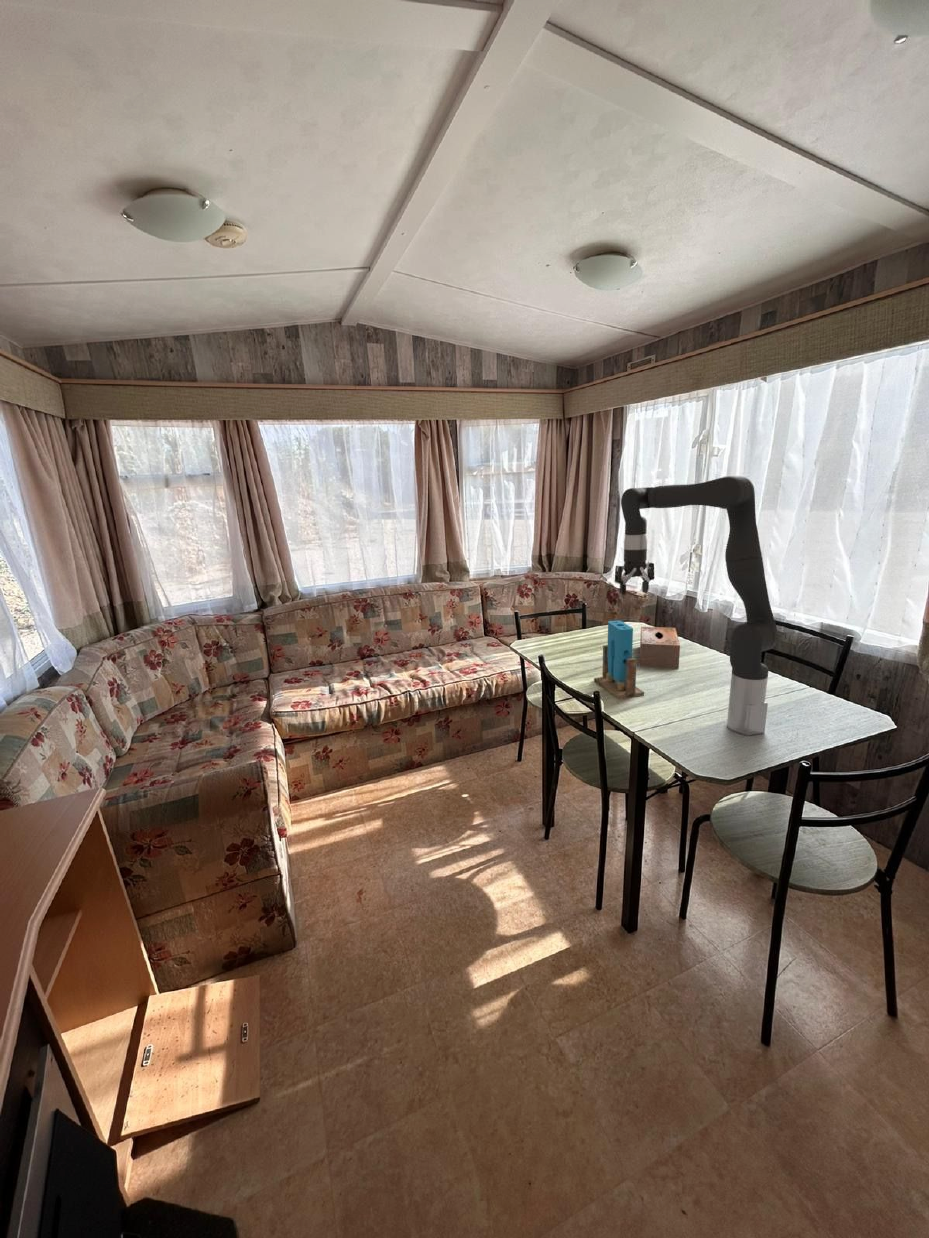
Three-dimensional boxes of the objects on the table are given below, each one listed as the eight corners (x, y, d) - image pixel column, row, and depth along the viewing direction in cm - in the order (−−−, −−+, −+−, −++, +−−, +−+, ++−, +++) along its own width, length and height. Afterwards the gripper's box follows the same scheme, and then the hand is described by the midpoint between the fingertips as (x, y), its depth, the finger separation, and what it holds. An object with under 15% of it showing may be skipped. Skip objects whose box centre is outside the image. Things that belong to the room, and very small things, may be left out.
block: (632, 682, 176) (634, 629, 171) (618, 683, 176) (620, 630, 170) (618, 670, 187) (620, 620, 182) (606, 672, 187) (607, 621, 182)
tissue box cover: (640, 647, 226) (641, 626, 224) (674, 649, 222) (675, 627, 219) (640, 666, 203) (641, 643, 200) (678, 669, 198) (680, 645, 196)
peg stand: (617, 677, 192) (618, 643, 189) (643, 695, 175) (645, 657, 172) (594, 680, 190) (594, 646, 187) (618, 699, 173) (619, 661, 170)
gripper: (623, 550, 165) (622, 597, 169) (660, 546, 168) (658, 593, 172) (611, 548, 172) (610, 593, 176) (646, 545, 175) (645, 589, 179)
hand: (634, 593), depth 174 cm, fingers open, 8 cm apart
